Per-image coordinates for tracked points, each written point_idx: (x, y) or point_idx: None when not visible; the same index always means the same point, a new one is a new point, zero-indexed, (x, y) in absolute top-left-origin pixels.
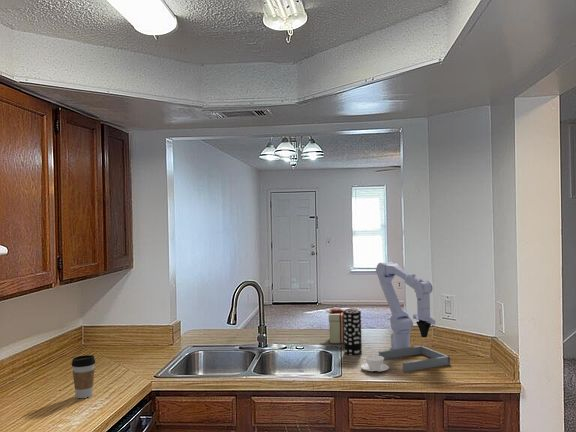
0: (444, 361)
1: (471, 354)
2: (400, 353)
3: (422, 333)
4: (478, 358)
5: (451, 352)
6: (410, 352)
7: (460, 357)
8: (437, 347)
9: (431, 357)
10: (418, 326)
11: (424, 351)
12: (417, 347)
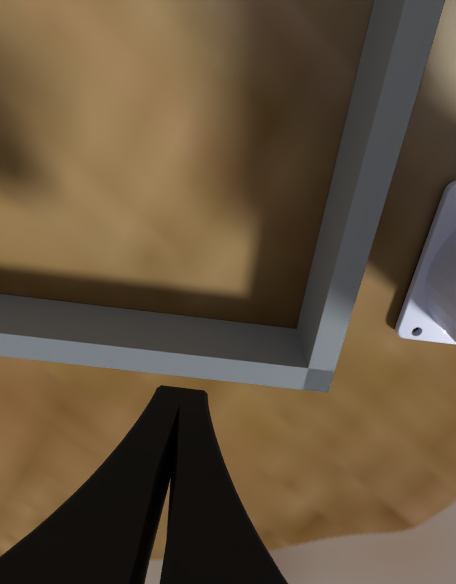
0: None
1: None
2: (366, 81)
3: (145, 424)
4: (9, 528)
5: None
6: (329, 224)
7: (72, 473)
8: (343, 514)
9: (150, 314)
10: (253, 546)
11: (252, 341)
12: (318, 326)
